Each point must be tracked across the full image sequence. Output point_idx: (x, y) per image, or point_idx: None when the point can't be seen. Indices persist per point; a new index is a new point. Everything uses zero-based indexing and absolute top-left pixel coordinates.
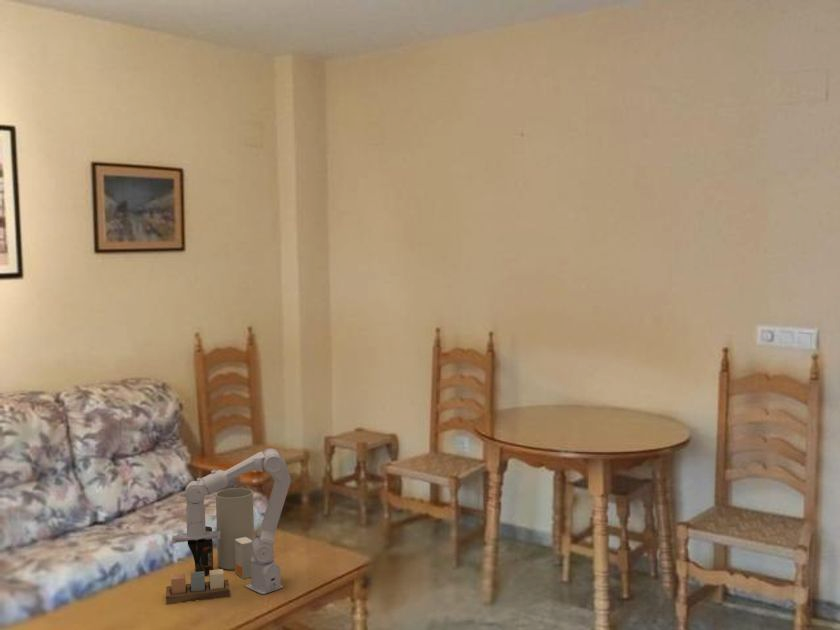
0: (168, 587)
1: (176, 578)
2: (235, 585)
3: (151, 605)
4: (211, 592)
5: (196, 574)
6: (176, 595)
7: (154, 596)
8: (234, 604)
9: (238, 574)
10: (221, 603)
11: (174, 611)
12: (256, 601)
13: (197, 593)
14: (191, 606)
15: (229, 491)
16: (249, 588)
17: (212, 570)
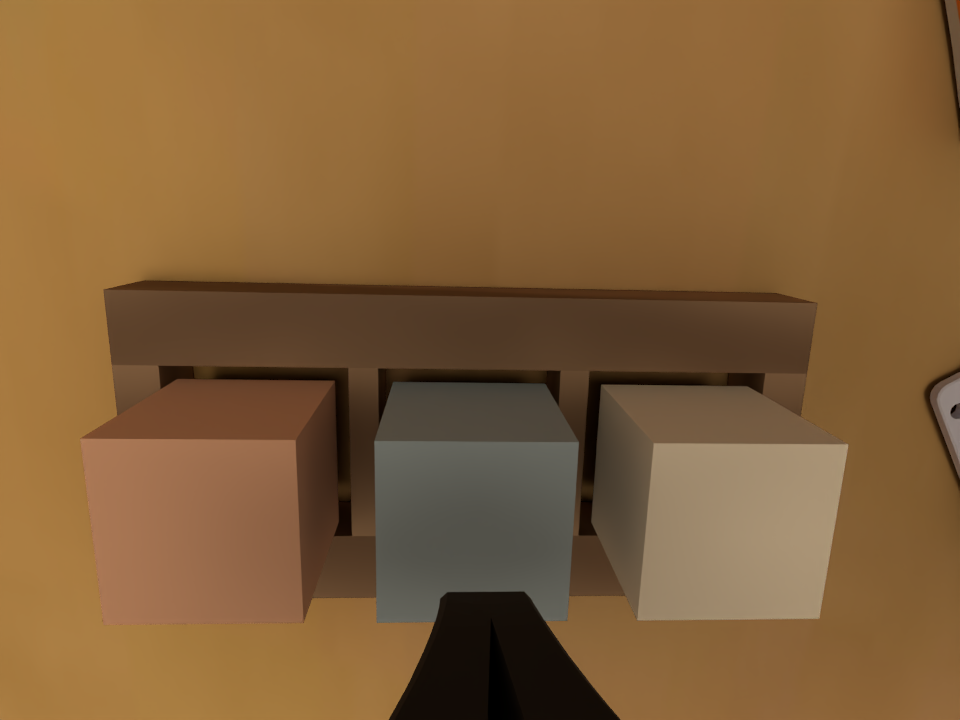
0: (132, 327)
1: (177, 605)
2: (845, 298)
3: (29, 536)
4: (594, 594)
5: (460, 542)
6: None
7: (21, 322)
8: (745, 712)
9: (956, 18)
10: (649, 666)
11: (256, 712)
12: (920, 704)
13: None
14: (398, 656)
15: None
16: (948, 448)
17: (696, 460)
